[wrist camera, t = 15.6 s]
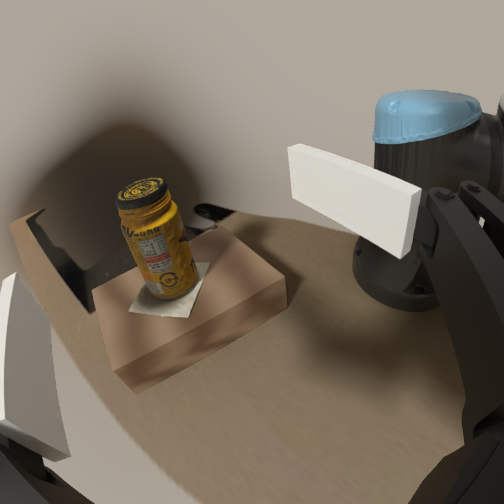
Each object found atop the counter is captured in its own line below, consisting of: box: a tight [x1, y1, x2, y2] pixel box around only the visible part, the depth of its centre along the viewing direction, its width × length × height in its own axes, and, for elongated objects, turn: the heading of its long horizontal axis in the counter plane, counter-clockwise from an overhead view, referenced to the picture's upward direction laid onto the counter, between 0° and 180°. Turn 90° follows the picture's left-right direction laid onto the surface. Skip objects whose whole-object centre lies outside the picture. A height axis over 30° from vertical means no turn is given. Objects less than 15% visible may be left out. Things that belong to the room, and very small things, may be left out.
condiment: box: [115, 178, 210, 318], centre depth 28 cm, size 7×8×12 cm
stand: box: [92, 226, 288, 394], centre depth 34 cm, size 20×14×5 cm
